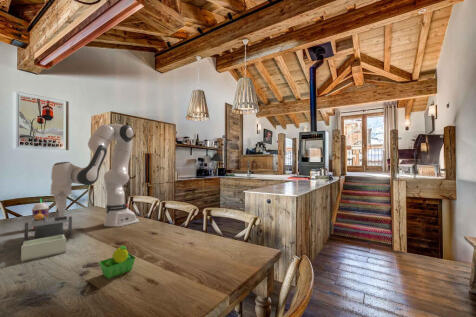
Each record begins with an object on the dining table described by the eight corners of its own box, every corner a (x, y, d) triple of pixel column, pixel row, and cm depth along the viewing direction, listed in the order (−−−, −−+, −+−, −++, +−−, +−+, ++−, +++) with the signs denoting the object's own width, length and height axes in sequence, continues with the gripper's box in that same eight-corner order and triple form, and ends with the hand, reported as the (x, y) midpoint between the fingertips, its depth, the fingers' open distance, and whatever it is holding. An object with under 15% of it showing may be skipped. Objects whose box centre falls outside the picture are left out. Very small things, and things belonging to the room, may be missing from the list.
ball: (43, 219, 133) (43, 212, 133) (43, 220, 130) (43, 213, 130) (34, 220, 130) (34, 213, 130) (34, 221, 127) (34, 214, 127)
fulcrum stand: (71, 233, 132) (71, 216, 133) (71, 235, 130) (72, 217, 130) (24, 242, 119) (25, 222, 119) (24, 243, 116) (24, 223, 116)
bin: (63, 243, 117) (64, 230, 117) (66, 252, 105) (66, 238, 105) (23, 251, 106) (23, 237, 106) (21, 262, 95) (21, 246, 95)
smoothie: (40, 230, 138) (41, 199, 138) (27, 230, 138) (28, 199, 138) (52, 227, 146) (52, 197, 147) (40, 226, 146) (40, 197, 147)
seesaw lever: (65, 218, 140) (65, 213, 140) (69, 221, 119) (69, 214, 120) (31, 223, 129) (31, 217, 130) (29, 227, 109) (29, 219, 109)
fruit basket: (127, 264, 94) (128, 238, 94) (137, 270, 88) (137, 243, 88) (98, 274, 85) (98, 246, 85) (106, 282, 79) (107, 252, 80)
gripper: (70, 192, 114) (69, 218, 114) (67, 188, 130) (66, 211, 129) (54, 193, 110) (53, 220, 110) (53, 189, 125) (52, 213, 125)
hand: (60, 215), depth 120 cm, fingers closed
